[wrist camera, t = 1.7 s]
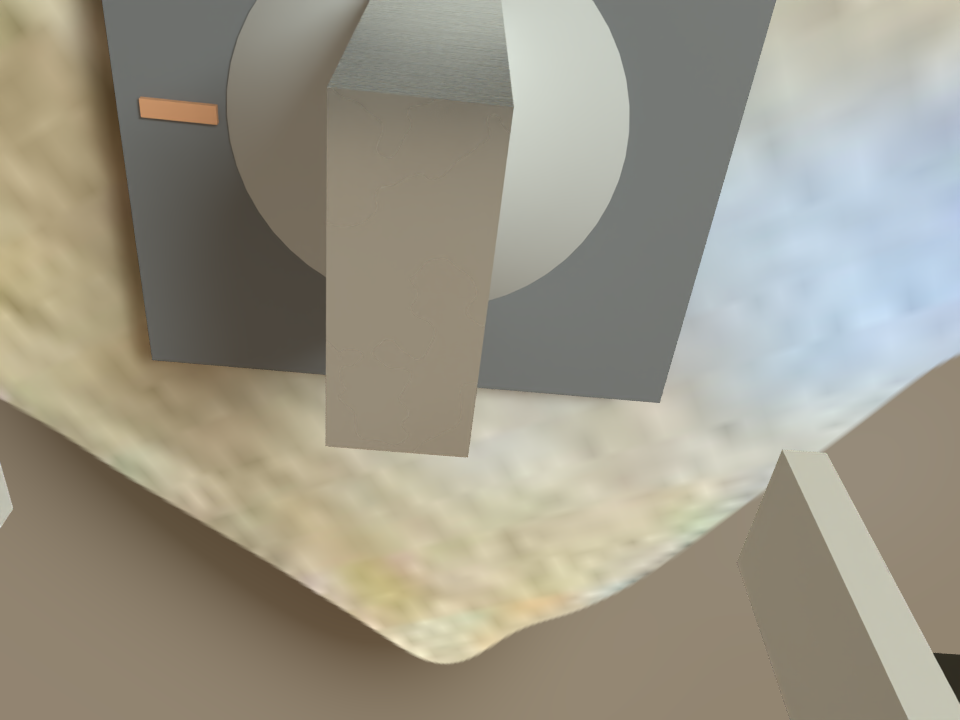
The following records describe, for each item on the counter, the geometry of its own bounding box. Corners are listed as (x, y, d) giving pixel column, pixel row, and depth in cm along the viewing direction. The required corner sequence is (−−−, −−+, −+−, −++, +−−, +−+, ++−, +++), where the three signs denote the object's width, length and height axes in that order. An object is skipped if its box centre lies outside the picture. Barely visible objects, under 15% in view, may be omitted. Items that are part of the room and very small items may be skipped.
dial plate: (98, -286, 23) (57, -293, 21) (801, -192, 24) (833, -190, 22) (171, 325, 34) (150, 363, 32) (648, 367, 36) (660, 406, 33)
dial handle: (377, -16, 24) (326, 87, 16) (501, -2, 24) (514, 107, 16) (367, 271, 29) (325, 459, 21) (469, 280, 30) (466, 470, 21)
